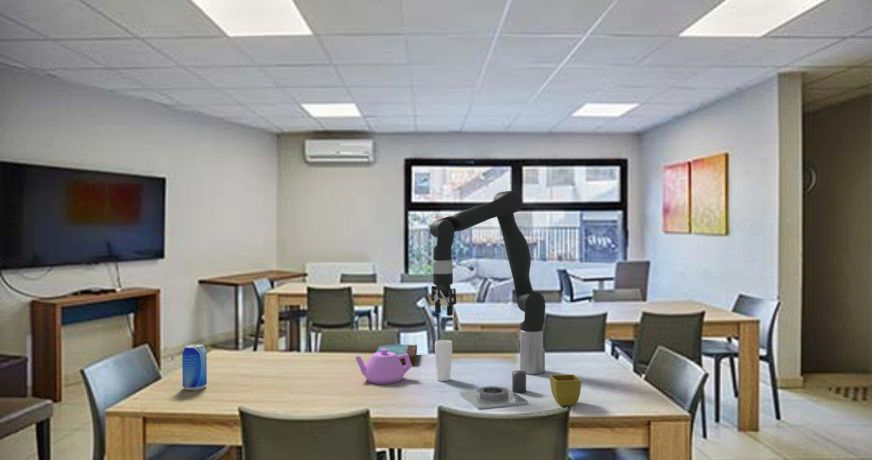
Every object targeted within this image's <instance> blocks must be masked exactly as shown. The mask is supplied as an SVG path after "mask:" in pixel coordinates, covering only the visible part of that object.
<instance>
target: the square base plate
mask: <svg viewBox="0 0 872 460" xmlns="http://www.w3.org/2000/svg"><path fill="white" fill-rule="evenodd" d="M459 395H460V396H461V397H463V398H464V399H465V400H466V401H467V402H468V403H470V404H471V405H472V404H473V405H472V406H473V407H474V408H476V409H477V408H478V409H477V410H483V409H485V410H486V409H491V408H492V409H493V408H502V407H503V408H504V407H511V406H519V405H528V403H529V401H528V400H527V399H526V398H523V396H520V394H518V393H514V392H513V391H512V389H509V388H508V387H506V386H504V387H502V386H493V385H491V386H490V385H487V386H482V387H478V388H477V389H475V390H474V389H473V390H464V391H459Z"/></svg>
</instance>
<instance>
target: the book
mask: <svg viewBox="0 0 872 460" xmlns="http://www.w3.org/2000/svg"><path fill="white" fill-rule="evenodd" d="M381 349H388V352H393V353H395V354H396V355H401V354H406V353H408V356H409V359H410V362H411V364H412V366H415V364H416V360H417V359H416V358H417V355H418V345H417V344H379V346H378V348H377V350H376V351H375V353H378V352H381V351H380V350H381ZM400 361H401V363H402V365H403V366H405V365H406V361H405V358H402V359H400Z"/></svg>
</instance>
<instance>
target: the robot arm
mask: <svg viewBox="0 0 872 460" xmlns="http://www.w3.org/2000/svg"><path fill="white" fill-rule="evenodd" d="M492 199H493V200H492V201H491V202H487V203H484V204H482V205H476V206H474V207H470V208H467V209H465V210H462V211H460V212H456V213H455V214H453V215H448V216H444V217H443V218H442V217H441V218H439V219H436V220H434V221H433V222H432V223H431V224H430V227H429V232H430V234H431V236H432V237H434V238H436V245H434V247H433V251H432V254H433V255H432V257H433V258H432V259H433V261H432V263H433V264H432V277H433V278H432V279H433V281H432V284H433V285H431V288H430V289H431V291H430V292H431V293H430V294H431V295H430V296H431V297H430V300H431V302H433V303H434V312H435V314H440V313H442V311H441V310H442V304H441V301H442V300H443V301H444V302H445V304H446V316H447V317H451V316H453V314H454V308H453V307H454V306H455V305H457V292H456V291H457V290H456V288H451V286H452V285H453V284H454V273H453V272H454V271H453V269H454V267H453V260H452V259H453V258H452V257H453V256H452V255H453V254H452V248H453V243H454V239H455V238H454V237H455V232H462V231H464V230H468V229H469V228H473V227H475V226H477V225H479V224H481V223H484V222H486V221H488V220H489V221H490V220H491V219H494V218H496V219H497V221H498V224H499V227H500V231H501V235H502V240H503V243H504V247H505V252H506V256H507V260H508V265H509V268H510V271H511V275H512V280H513V286H514V293H515V300H516V304H517V307H518V309H519V310H520V311H521V312H524V318H523V319H524V320H523V321H522V322H520V323H519V362H520V363H519V370H520V371H525V372H526V375H540V374H543V373H546V364H545V363H546V353H545V352H546V350H545V348H544V339H543V338H544V337H543V336H544V332H543V331H544V328H543V327H544V325H545V321H546V299H545V297H544V295H543V294H542V293H540V292H538V291H534V289H533V287H532V283H531V282H532V281H531V279H530V271H531V265H532V257H531V253H530V248H529V244H528V241H527V239H526V238H525V235H524V234H523V232H522V231H521V230H520V228H519V227H518V226H519V225H518V224H517V221H516V218H515V213H518V212H519V211H520V210H521V209H522V205H523V198H522V196H521V194H520V193H518V192H517V191H514V190H505V191H500V192H497V193H496V194H495V195H494V197H493V198H492Z"/></svg>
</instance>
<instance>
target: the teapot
mask: <svg viewBox="0 0 872 460" xmlns="http://www.w3.org/2000/svg"><path fill="white" fill-rule="evenodd" d="M380 351H381V352H378V353H376V352H374V353H373V354H372V355H371V356H370V357H369V359H368V361H367V363H365V362H364V360H363V359H362V357H361V356H360V355H359V356H358V355H356V356H355V359H356V362H357V364H358V366H359V368H360V371H361V374H362V375H363V377H365V379H366V380H367V381H368V382H369V383H371V384H376V385H377V384H378V385H389V384H396V383H398V382H400V381H401V380H402V379H403V378H404V376H405V374H406V373H407V372H408V371H409V370H410V369H411V368H412V367H413V365H412V364H411V362H410V359H409V356H408V353H406V354H401V355H396V354H395V353H393V352H388V349H381V350H380ZM402 358H405V361H406V365H402V363H401V361H400V359H402Z"/></svg>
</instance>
